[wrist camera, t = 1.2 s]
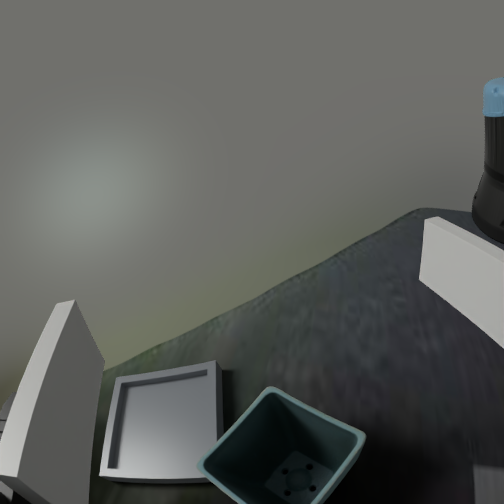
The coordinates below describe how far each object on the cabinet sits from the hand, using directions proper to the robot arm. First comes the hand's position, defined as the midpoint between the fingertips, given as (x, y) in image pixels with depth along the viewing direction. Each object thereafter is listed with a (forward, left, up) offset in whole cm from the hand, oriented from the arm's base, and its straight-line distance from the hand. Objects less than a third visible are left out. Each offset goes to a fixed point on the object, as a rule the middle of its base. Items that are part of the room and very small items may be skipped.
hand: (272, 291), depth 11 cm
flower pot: (+3, +1, -23) cm, 23 cm away
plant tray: (+17, -7, -23) cm, 29 cm away
